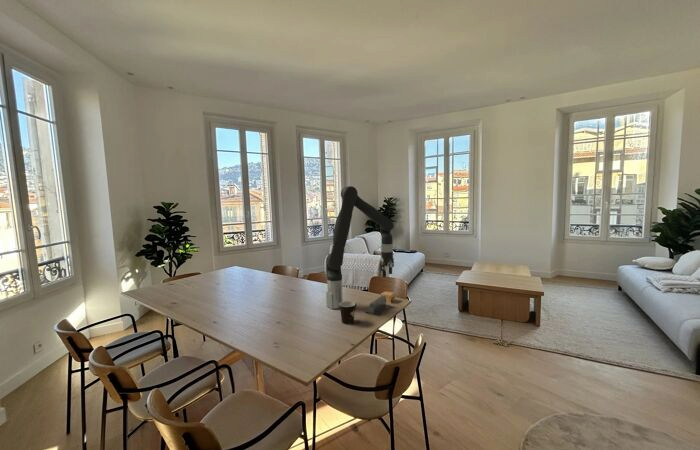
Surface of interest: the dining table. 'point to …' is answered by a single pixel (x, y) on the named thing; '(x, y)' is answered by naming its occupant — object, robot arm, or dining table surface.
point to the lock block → (388, 296)
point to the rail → (378, 306)
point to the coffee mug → (347, 312)
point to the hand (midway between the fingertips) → (387, 275)
